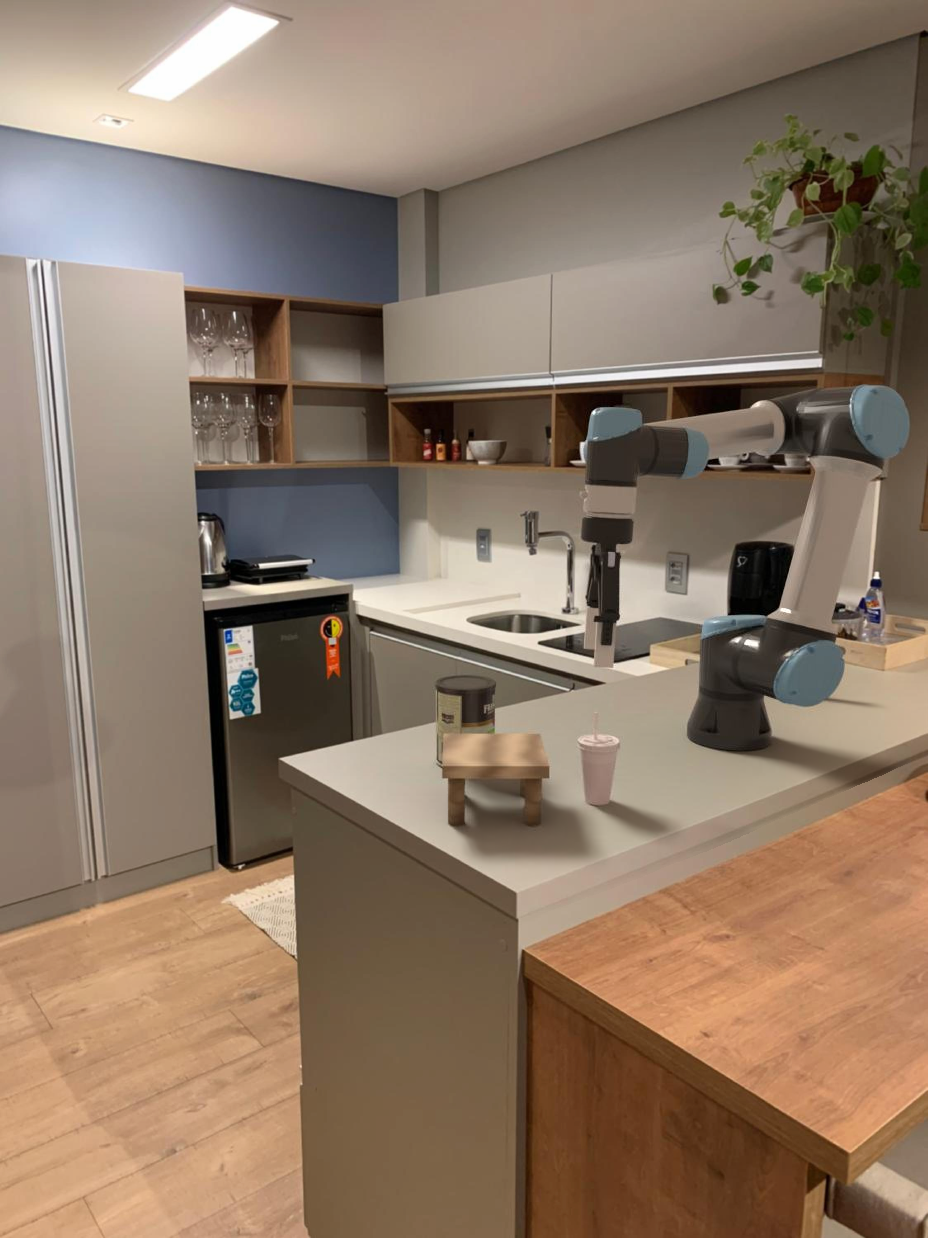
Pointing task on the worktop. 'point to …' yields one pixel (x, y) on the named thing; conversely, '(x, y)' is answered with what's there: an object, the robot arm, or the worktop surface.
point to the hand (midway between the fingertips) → (597, 657)
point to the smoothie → (598, 764)
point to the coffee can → (463, 707)
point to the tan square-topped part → (494, 768)
